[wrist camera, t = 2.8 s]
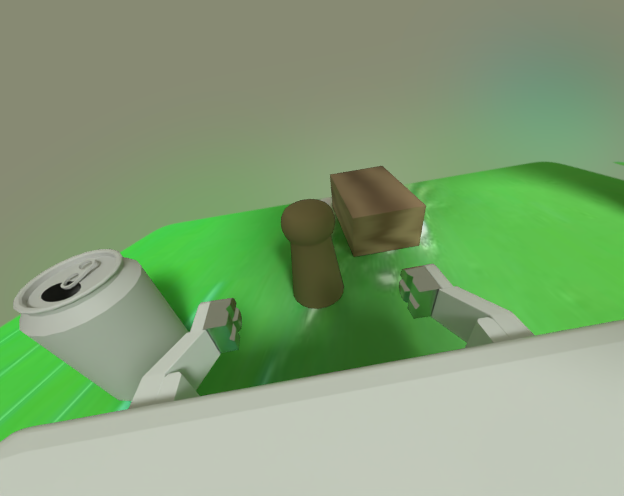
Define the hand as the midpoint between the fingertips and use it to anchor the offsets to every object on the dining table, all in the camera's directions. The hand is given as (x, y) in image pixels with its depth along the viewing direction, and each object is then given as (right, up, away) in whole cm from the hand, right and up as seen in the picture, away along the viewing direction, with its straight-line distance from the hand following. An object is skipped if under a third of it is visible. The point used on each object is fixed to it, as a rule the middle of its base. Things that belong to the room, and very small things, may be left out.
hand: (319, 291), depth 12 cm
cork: (0, -3, +17) cm, 18 cm away
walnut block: (+9, +6, +27) cm, 29 cm away
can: (-16, -9, +12) cm, 22 cm away
